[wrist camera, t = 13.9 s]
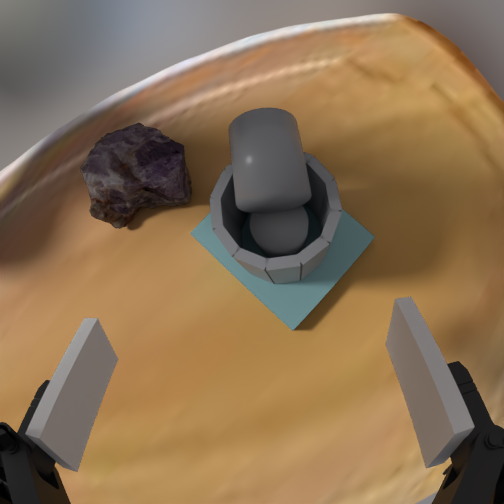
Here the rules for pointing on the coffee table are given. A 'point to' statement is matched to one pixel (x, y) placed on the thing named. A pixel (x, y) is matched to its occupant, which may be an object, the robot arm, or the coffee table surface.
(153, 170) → the rock
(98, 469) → the coffee table surface
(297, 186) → the elbow
